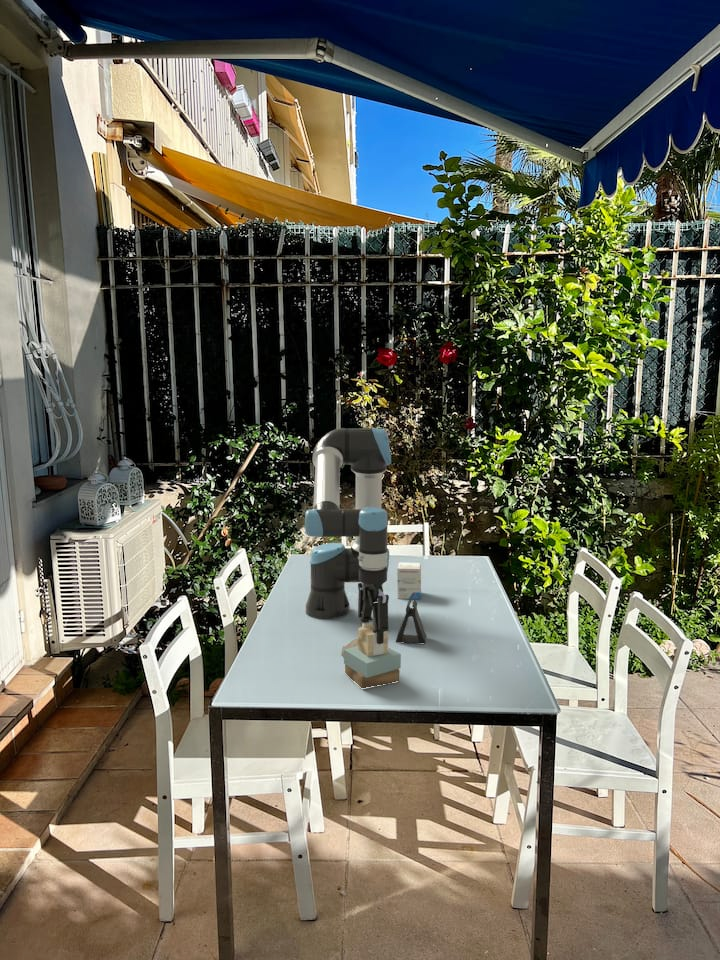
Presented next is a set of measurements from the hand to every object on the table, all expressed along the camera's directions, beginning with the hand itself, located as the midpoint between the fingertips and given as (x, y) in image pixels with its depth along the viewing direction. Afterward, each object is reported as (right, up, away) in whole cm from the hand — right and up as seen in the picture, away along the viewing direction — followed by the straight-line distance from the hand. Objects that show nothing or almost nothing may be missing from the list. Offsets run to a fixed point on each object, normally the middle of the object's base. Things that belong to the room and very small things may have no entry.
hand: (372, 649), depth 192 cm
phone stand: (+12, -4, +28) cm, 31 cm away
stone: (-3, -6, +19) cm, 20 cm away
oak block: (0, 0, 0) cm, 0 cm away
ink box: (+15, +3, +71) cm, 72 cm away
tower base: (0, -8, +1) cm, 8 cm away
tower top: (0, -4, 0) cm, 4 cm away
